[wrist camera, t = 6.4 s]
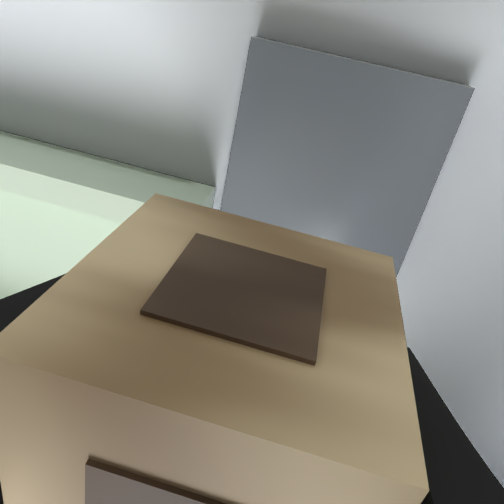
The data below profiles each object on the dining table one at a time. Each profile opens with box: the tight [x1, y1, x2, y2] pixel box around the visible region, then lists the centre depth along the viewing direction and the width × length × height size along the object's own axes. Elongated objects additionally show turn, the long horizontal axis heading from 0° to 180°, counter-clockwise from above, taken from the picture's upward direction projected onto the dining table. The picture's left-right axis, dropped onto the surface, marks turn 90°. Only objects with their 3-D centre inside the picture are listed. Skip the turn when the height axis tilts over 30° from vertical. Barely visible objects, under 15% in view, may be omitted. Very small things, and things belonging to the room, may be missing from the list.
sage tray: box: [0, 131, 216, 299], centre depth 19 cm, size 13×11×3 cm
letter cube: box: [0, 193, 429, 504], centre depth 8 cm, size 5×5×5 cm
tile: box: [220, 37, 475, 277], centre depth 16 cm, size 7×7×1 cm
